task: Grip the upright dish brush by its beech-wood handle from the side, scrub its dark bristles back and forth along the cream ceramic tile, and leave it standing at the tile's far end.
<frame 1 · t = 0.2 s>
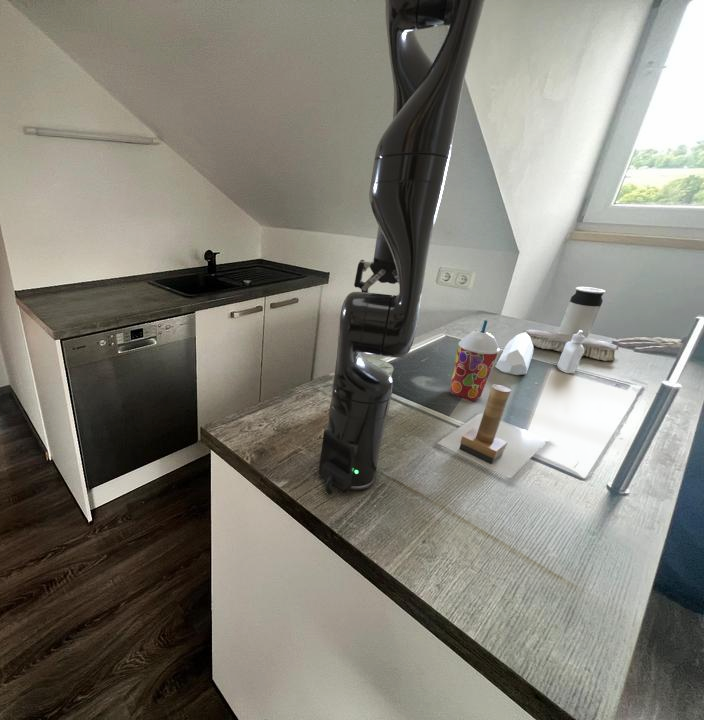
hand: (383, 306, 92), 22 cm above the counter, tool pointing down, fingers open, 8 cm apart
travel mug: (570, 340, 136), on the counter
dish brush: (480, 452, 75), point 1 cm above the counter, touching tile
eye dropper bottle: (565, 370, 113), on the counter
can: (363, 410, 92), on the counter
tile: (492, 445, 79), on the counter
shoe brush: (563, 351, 126), on the counter
smoothie: (463, 397, 98), on the counter
crystal: (513, 362, 118), on the counter
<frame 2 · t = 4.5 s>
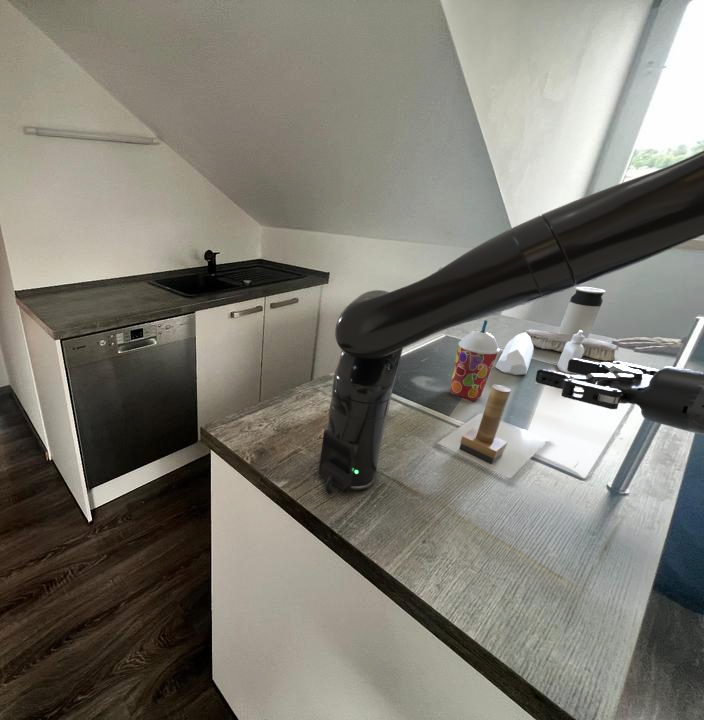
hand: (553, 369, 61), 21 cm above the counter, tool horizontal, fingers open, 8 cm apart
nothing on the counter moved.
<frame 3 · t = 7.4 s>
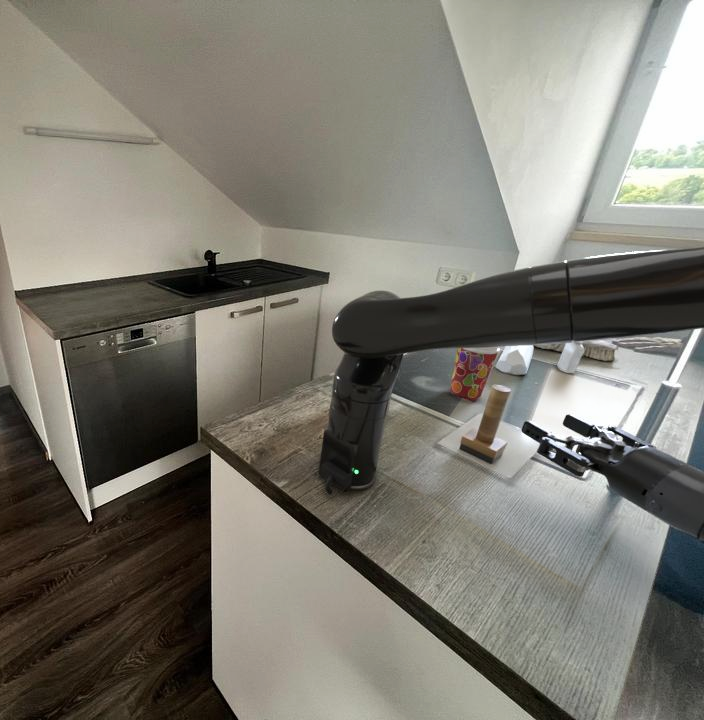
hand: (545, 422, 63), 13 cm above the counter, tool horizontal, fingers open, 8 cm apart
nothing on the counter moved.
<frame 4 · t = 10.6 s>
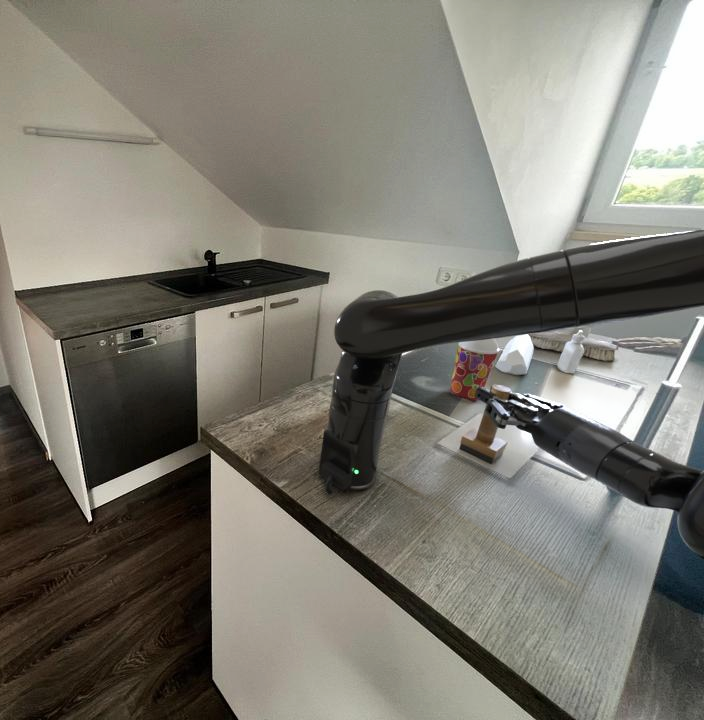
hand: (484, 390, 73), 13 cm above the counter, tool horizontal, fingers closed on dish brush, 3 cm apart
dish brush: (480, 451, 75), point 1 cm above the counter, touching gripper, tile
everything else where it was.
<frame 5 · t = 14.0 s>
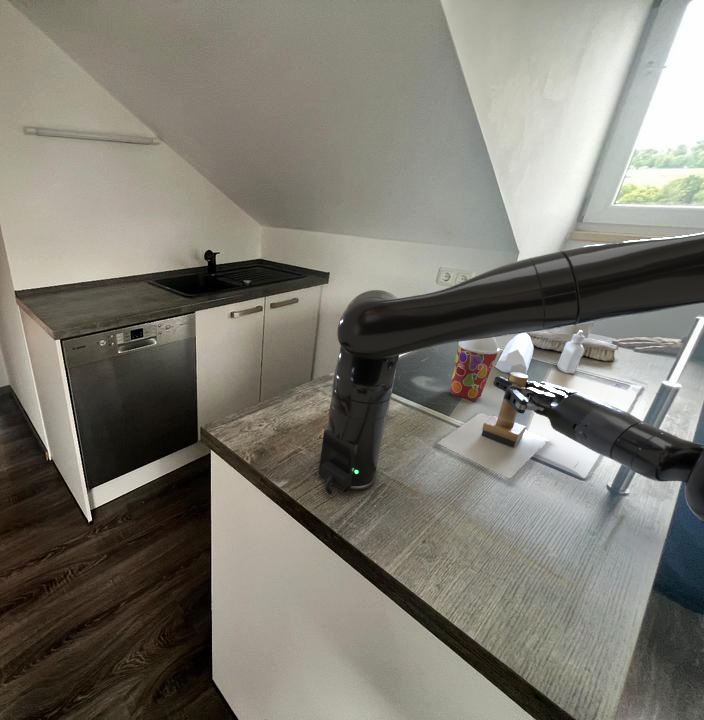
hand: (502, 379, 78), 13 cm above the counter, tool horizontal, fingers closed on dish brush, 2 cm apart
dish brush: (501, 437, 79), point 1 cm above the counter, touching gripper
everything else where it was.
when the fingers open (13 cm above the counter, at t = 17.9 s): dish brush stays where it is, resting on tile.
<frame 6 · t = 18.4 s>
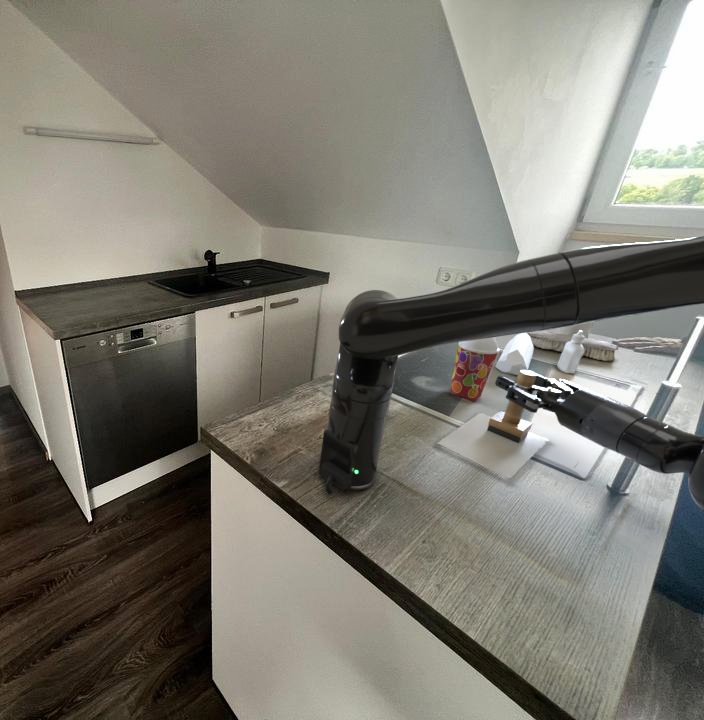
hand: (512, 378, 79), 13 cm above the counter, tool horizontal, fingers open, 7 cm apart
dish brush: (506, 432, 81), point 1 cm above the counter, touching tile
everything else where it was.
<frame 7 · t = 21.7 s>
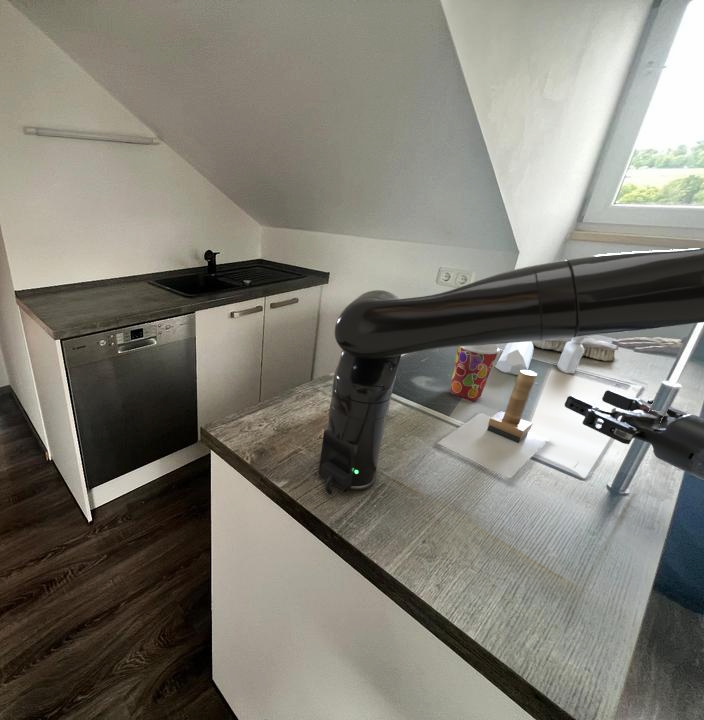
hand: (586, 397, 66), 15 cm above the counter, tool horizontal, fingers open, 8 cm apart
nothing on the counter moved.
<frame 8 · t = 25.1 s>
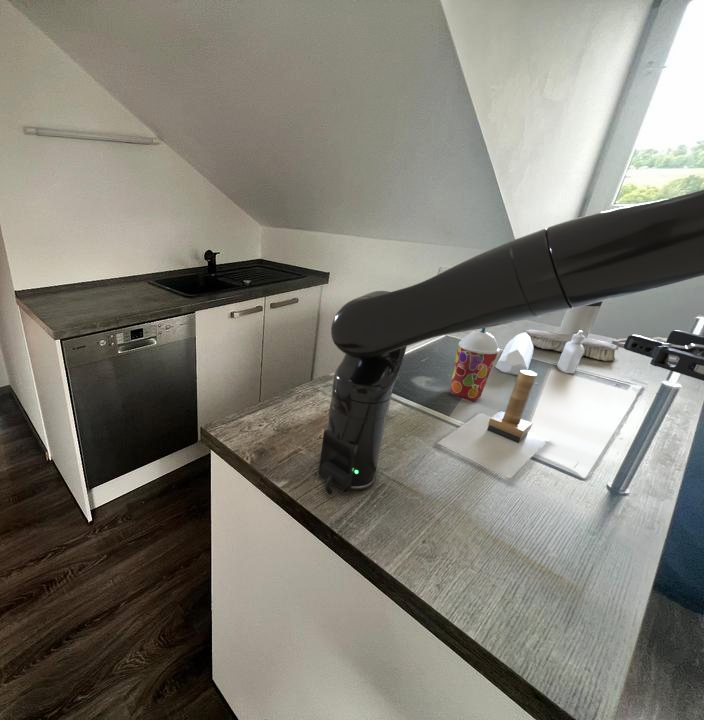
hand: (649, 338, 56), 28 cm above the counter, tool horizontal, fingers open, 8 cm apart
nothing on the counter moved.
at the end: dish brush inside the target area on the tile (0.4 cm from its centre), point 1.0 cm above the tile's base; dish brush tilted 0°; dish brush moved 11.7 cm from its start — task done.
